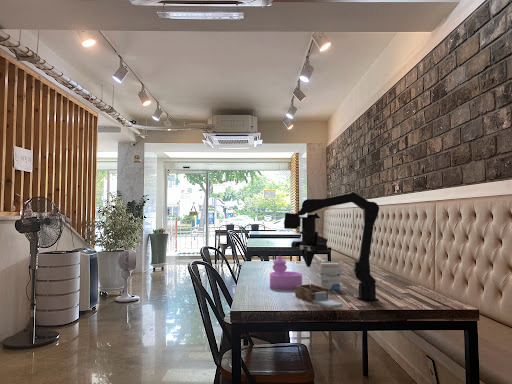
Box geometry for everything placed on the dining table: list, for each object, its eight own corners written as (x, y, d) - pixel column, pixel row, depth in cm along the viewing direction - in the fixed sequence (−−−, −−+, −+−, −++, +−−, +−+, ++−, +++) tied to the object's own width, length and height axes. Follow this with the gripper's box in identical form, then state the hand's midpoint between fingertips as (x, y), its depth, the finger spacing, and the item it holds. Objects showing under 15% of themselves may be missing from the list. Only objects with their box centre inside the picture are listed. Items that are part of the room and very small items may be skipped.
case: (328, 299, 152) (328, 288, 152) (311, 301, 148) (311, 290, 148) (311, 294, 162) (311, 284, 163) (295, 296, 159) (295, 285, 159)
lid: (343, 307, 141) (342, 296, 142) (328, 308, 139) (328, 297, 139) (326, 301, 151) (326, 291, 151) (312, 303, 148) (312, 292, 148)
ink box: (338, 288, 177) (338, 262, 178) (340, 290, 172) (339, 264, 173) (320, 287, 178) (320, 262, 179) (321, 289, 173) (320, 263, 174)
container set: (305, 289, 173) (305, 260, 174) (273, 290, 171) (273, 261, 172) (292, 280, 198) (292, 255, 199) (263, 281, 196) (263, 255, 196)
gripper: (338, 230, 154) (338, 268, 153) (311, 228, 170) (311, 263, 169) (315, 230, 149) (315, 270, 148) (290, 228, 166) (290, 264, 165)
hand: (308, 266), depth 158 cm, fingers closed
